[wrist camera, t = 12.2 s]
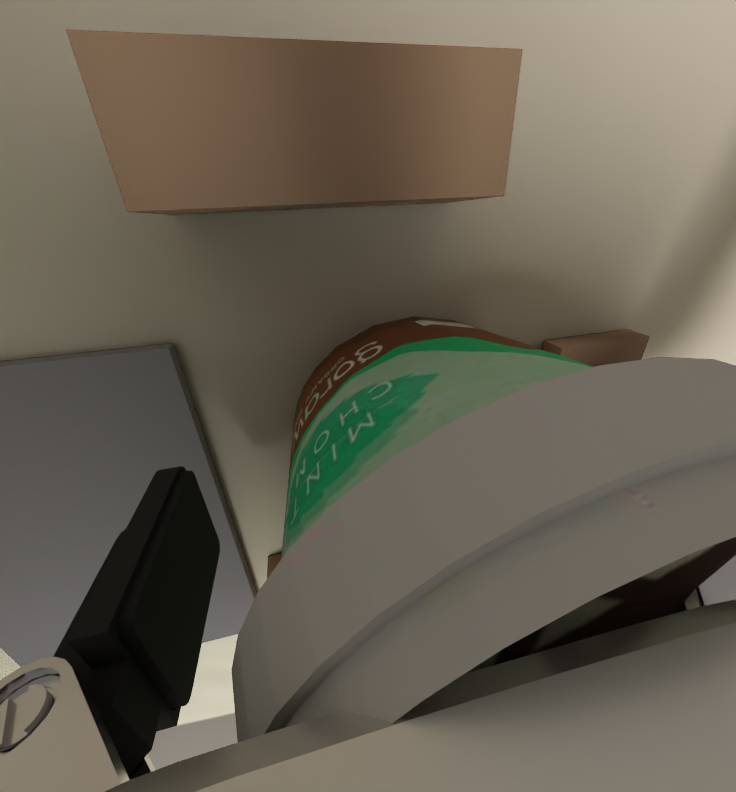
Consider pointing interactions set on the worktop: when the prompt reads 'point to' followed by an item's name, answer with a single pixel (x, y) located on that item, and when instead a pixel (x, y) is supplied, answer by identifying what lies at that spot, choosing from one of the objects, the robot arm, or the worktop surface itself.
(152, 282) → the worktop surface
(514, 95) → the wooden blocks
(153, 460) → the mat
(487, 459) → the food container
